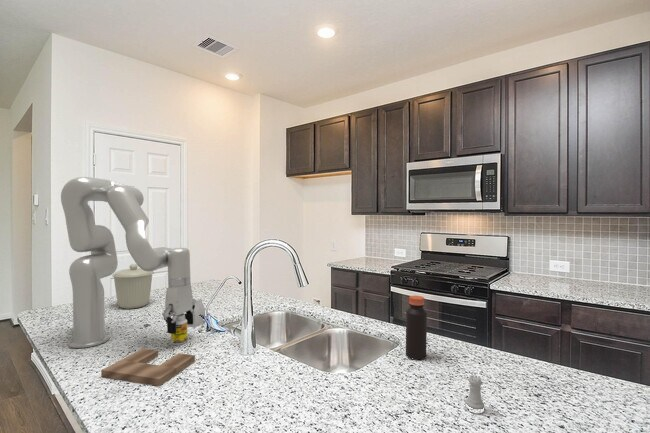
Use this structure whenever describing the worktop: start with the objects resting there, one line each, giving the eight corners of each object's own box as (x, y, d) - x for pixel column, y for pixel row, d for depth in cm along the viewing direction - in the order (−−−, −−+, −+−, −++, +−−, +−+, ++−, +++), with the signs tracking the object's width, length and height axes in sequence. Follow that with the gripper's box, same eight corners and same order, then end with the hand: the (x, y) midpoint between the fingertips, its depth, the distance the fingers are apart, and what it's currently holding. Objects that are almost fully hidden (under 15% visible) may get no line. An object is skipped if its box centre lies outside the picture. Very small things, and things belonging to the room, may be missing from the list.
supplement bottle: (172, 346, 123) (172, 318, 123) (169, 341, 127) (169, 314, 127) (188, 343, 126) (188, 315, 126) (185, 338, 131) (185, 311, 130)
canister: (129, 300, 183) (129, 260, 182) (161, 301, 180) (161, 261, 180) (103, 310, 165) (103, 266, 164) (138, 312, 162) (137, 267, 162)
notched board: (101, 376, 101) (101, 370, 101) (142, 354, 116) (142, 348, 116) (159, 386, 96) (159, 379, 96) (194, 361, 111) (194, 355, 111)
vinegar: (427, 354, 118) (428, 296, 118) (424, 362, 112) (425, 300, 112) (407, 350, 121) (408, 293, 121) (403, 358, 115) (404, 298, 114)
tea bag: (204, 322, 149) (204, 299, 149) (195, 327, 143) (194, 303, 143) (197, 321, 150) (197, 298, 150) (187, 326, 144) (187, 302, 144)
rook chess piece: (461, 404, 88) (462, 373, 88) (478, 403, 88) (479, 373, 88) (470, 415, 84) (471, 382, 83) (488, 414, 84) (489, 381, 84)
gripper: (185, 277, 135) (186, 320, 136) (153, 287, 119) (155, 336, 119) (202, 277, 134) (203, 321, 134) (172, 287, 117) (173, 338, 117)
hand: (180, 328), depth 127 cm, fingers open, 9 cm apart
